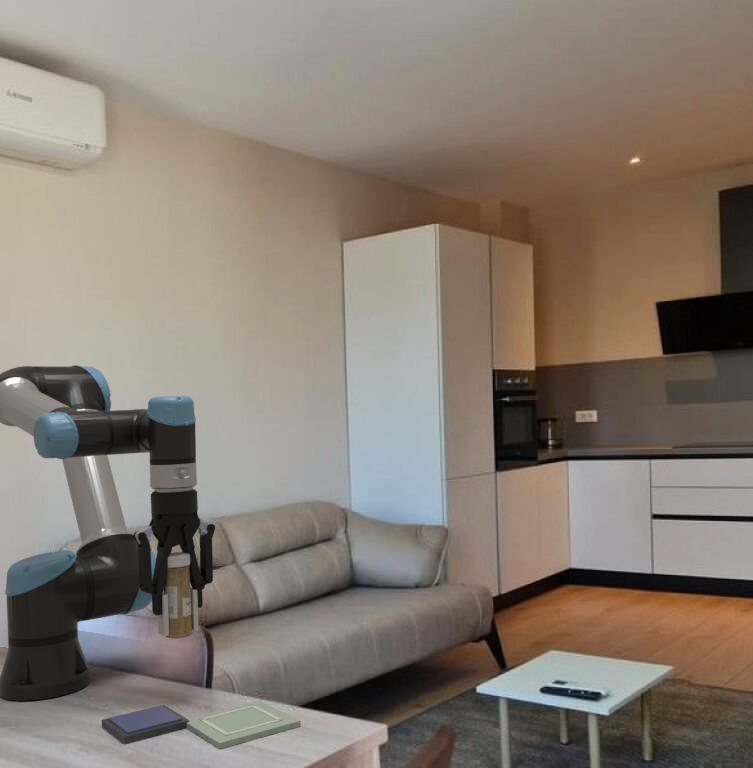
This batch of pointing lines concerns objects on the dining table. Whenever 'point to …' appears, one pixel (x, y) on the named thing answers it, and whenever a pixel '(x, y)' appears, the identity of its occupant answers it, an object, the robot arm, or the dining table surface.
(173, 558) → the sprinkles bottle
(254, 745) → the dining table surface
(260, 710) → the board
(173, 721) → the ink pad
